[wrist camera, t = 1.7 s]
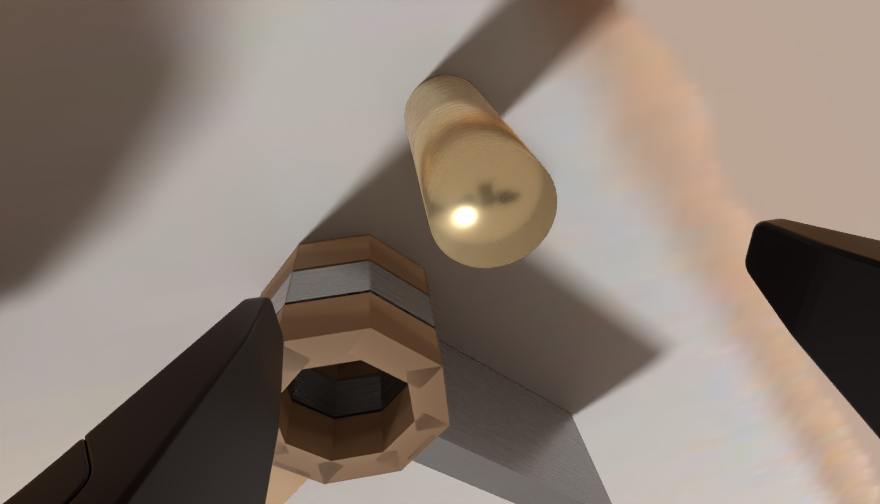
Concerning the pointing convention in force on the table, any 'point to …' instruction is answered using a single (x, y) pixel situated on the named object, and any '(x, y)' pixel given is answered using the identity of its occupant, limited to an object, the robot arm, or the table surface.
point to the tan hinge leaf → (355, 373)
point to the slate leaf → (456, 405)
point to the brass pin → (476, 176)
